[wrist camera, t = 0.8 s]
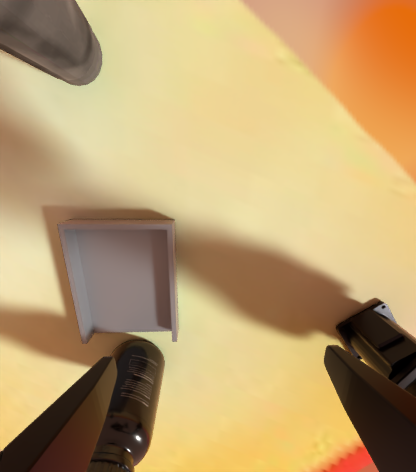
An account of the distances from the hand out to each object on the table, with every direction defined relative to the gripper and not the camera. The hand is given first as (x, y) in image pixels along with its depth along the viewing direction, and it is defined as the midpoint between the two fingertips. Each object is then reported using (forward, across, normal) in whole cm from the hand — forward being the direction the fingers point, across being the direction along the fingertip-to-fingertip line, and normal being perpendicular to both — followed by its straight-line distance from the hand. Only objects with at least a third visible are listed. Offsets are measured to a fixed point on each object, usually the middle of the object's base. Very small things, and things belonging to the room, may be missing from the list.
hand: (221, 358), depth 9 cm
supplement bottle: (+14, +9, +15) cm, 23 cm away
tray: (+14, +9, +4) cm, 17 cm away
